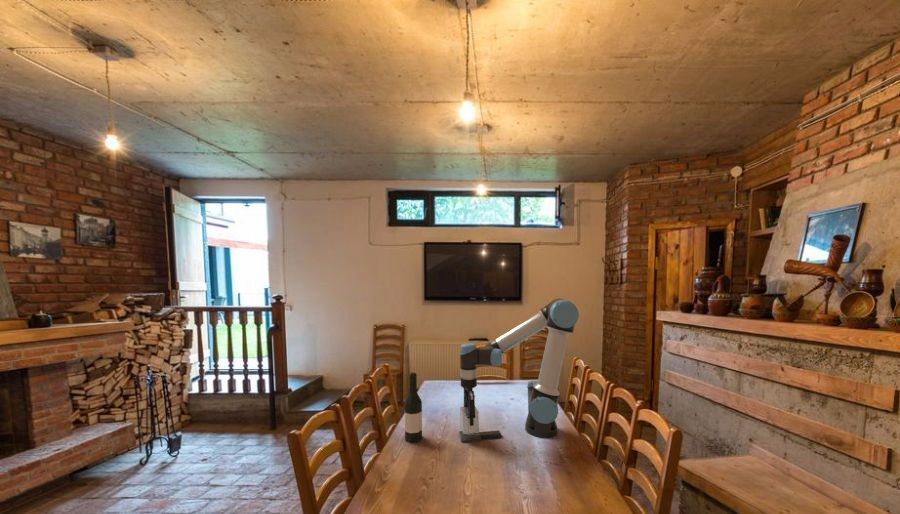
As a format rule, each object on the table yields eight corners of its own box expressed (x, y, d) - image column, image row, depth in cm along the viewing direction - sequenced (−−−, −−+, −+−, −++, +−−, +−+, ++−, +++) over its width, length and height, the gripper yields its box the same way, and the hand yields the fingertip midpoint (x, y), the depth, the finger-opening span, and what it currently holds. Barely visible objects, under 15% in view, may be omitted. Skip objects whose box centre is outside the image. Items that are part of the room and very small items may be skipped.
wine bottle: (419, 443, 146) (418, 375, 149) (401, 442, 148) (401, 374, 150) (424, 435, 155) (424, 370, 157) (407, 433, 156) (407, 369, 159)
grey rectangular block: (475, 425, 155) (475, 406, 155) (478, 432, 148) (478, 411, 148) (460, 426, 154) (460, 407, 154) (463, 433, 147) (462, 413, 147)
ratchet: (498, 433, 155) (498, 419, 156) (501, 438, 150) (501, 423, 151) (459, 436, 152) (458, 422, 153) (461, 442, 147) (460, 427, 148)
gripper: (457, 372, 162) (457, 419, 160) (464, 384, 142) (465, 439, 140) (471, 371, 163) (472, 418, 161) (481, 383, 143) (482, 437, 141)
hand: (469, 428), depth 151 cm, fingers closed on grey rectangular block, 7 cm apart
